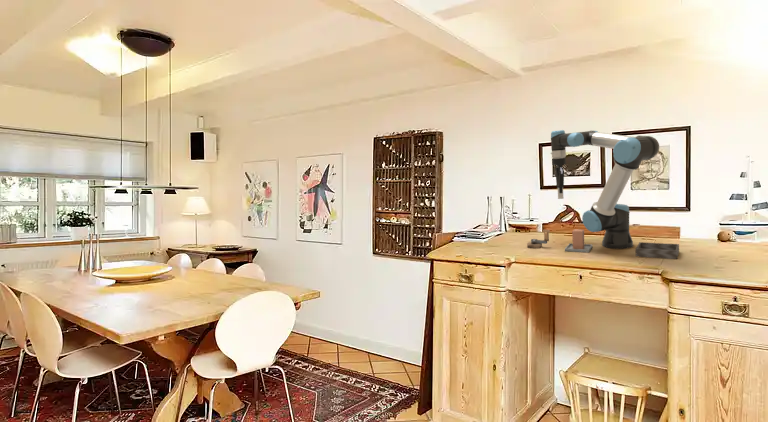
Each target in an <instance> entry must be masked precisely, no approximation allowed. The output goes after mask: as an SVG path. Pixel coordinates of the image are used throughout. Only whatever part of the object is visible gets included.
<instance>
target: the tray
mask: <svg viewBox="0 0 768 422" xmlns="http://www.w3.org/2000/svg"><path fill="white" fill-rule="evenodd" d="M592 249H593V244H591V243H588V244H587V243H584V249H573V243H571V242H570V243H568V244H567V246H565V248H564V252H568V253H570V252H572V253H590V251H591V250H592Z"/></svg>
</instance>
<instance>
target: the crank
mask: <svg viewBox="0 0 768 422" xmlns="http://www.w3.org/2000/svg"><path fill="white" fill-rule="evenodd" d="M542 233H543V237H544V240H543V239H537V238H531V239H530V242H531V243H541V244H542V245H543V244H544V245H545V244H548V242H549V241H550V234H549V233H551V232H550V229H543V230H542Z"/></svg>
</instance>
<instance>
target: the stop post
mask: <svg viewBox="0 0 768 422" xmlns="http://www.w3.org/2000/svg"><path fill="white" fill-rule="evenodd" d="M572 244H573V249H584V244H585V229H580V228H578V229H577V228H575V229H573V230H572Z"/></svg>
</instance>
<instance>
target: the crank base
mask: <svg viewBox="0 0 768 422" xmlns="http://www.w3.org/2000/svg"><path fill="white" fill-rule="evenodd" d="M526 246H527V248H528V249H540V248H542V247H543V244H541V243H531V241H529V242H527V243H526Z"/></svg>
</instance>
